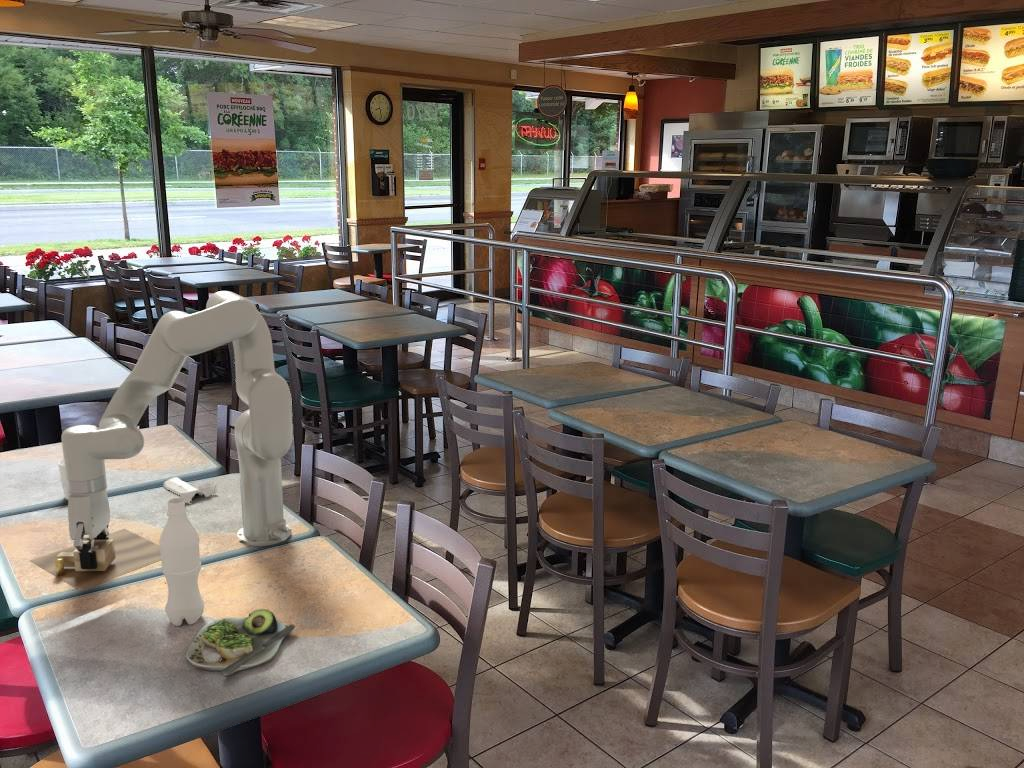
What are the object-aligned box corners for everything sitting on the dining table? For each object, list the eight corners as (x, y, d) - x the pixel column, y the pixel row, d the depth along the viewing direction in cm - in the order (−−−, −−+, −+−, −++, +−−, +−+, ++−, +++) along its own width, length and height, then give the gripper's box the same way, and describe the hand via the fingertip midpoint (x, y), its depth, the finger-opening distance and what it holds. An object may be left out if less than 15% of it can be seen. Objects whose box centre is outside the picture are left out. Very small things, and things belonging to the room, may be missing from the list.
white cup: (65, 492, 227) (61, 457, 225) (97, 489, 230) (93, 454, 227) (59, 502, 220) (55, 466, 218) (92, 499, 222) (88, 464, 220)
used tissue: (181, 508, 219) (180, 494, 219) (162, 487, 233) (161, 474, 232) (222, 499, 226) (221, 485, 225) (201, 479, 240) (200, 466, 239)
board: (177, 558, 190) (175, 533, 189) (80, 595, 173) (77, 568, 171) (125, 533, 203) (122, 509, 201) (30, 565, 185) (26, 539, 184)
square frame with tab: (115, 558, 185) (113, 539, 184) (104, 570, 179) (102, 551, 178) (66, 558, 184) (64, 539, 183) (53, 571, 179) (51, 551, 177)
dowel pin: (66, 574, 179) (64, 559, 179) (58, 576, 178) (56, 561, 177) (62, 572, 180) (60, 557, 179) (54, 574, 179) (53, 559, 178)
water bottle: (164, 631, 161) (153, 509, 154) (168, 612, 167) (158, 495, 161) (203, 626, 162) (194, 506, 156) (206, 608, 169) (197, 492, 163)
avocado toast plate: (271, 684, 145) (270, 661, 144) (168, 682, 145) (166, 658, 144) (300, 626, 164) (299, 604, 163) (209, 623, 164) (207, 602, 163)
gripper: (86, 469, 185) (95, 544, 190) (49, 499, 169) (59, 580, 173) (121, 469, 186) (128, 544, 190) (87, 498, 169) (97, 580, 174)
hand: (95, 560), depth 182 cm, fingers closed on square frame with tab, 6 cm apart
